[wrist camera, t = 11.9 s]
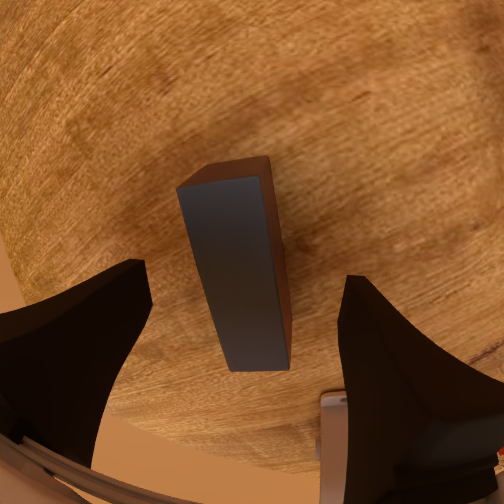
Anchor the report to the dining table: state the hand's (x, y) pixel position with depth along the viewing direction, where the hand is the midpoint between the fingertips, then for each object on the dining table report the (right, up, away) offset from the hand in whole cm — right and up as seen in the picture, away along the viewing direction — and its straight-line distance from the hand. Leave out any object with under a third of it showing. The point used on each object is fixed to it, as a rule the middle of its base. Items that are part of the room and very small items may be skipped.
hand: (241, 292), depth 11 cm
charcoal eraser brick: (0, +1, +3) cm, 3 cm away
